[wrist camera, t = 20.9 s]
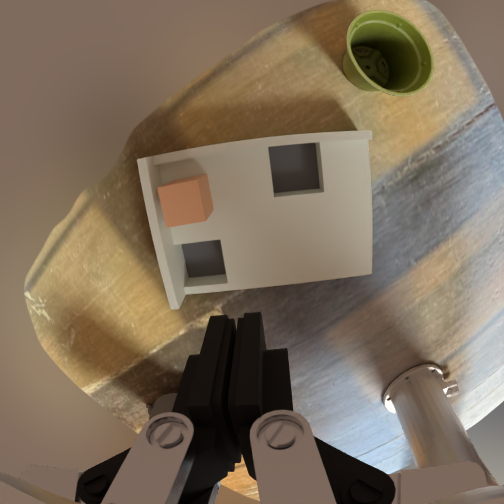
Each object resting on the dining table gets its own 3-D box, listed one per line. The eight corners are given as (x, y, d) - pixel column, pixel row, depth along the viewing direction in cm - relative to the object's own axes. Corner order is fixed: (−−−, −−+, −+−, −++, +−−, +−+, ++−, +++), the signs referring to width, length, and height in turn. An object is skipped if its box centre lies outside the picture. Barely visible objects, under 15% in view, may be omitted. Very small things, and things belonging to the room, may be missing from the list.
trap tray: (358, 131, 32) (378, 130, 26) (364, 264, 38) (381, 287, 32) (157, 155, 34) (136, 159, 28) (183, 284, 40) (170, 309, 34)
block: (207, 173, 32) (197, 179, 27) (213, 209, 33) (205, 221, 28) (172, 180, 32) (157, 187, 27) (179, 215, 33) (166, 227, 29)
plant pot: (339, 109, 31) (363, 100, 23) (318, 37, 28) (334, 10, 20) (407, 101, 30) (444, 94, 22) (387, 33, 27) (417, 11, 19)
